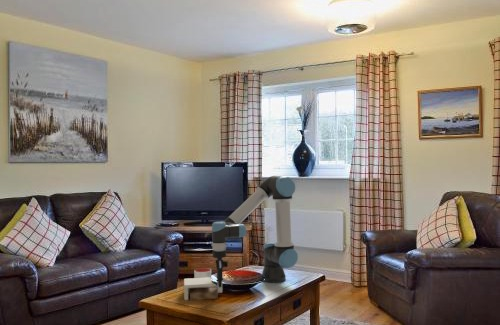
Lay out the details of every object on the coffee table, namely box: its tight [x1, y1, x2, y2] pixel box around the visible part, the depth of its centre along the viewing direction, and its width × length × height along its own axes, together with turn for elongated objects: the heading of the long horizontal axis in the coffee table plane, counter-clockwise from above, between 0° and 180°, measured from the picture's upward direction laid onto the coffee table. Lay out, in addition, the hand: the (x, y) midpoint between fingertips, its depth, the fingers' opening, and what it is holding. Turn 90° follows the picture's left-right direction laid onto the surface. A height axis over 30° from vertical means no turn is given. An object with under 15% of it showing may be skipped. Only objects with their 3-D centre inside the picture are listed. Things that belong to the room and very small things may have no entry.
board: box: [189, 286, 219, 301], centre depth 254 cm, size 15×9×4 cm, turn 98°
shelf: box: [183, 276, 213, 301], centre depth 256 cm, size 15×14×8 cm
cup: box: [193, 267, 212, 278], centre depth 274 cm, size 10×10×10 cm
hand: (219, 292), depth 257 cm, fingers closed
